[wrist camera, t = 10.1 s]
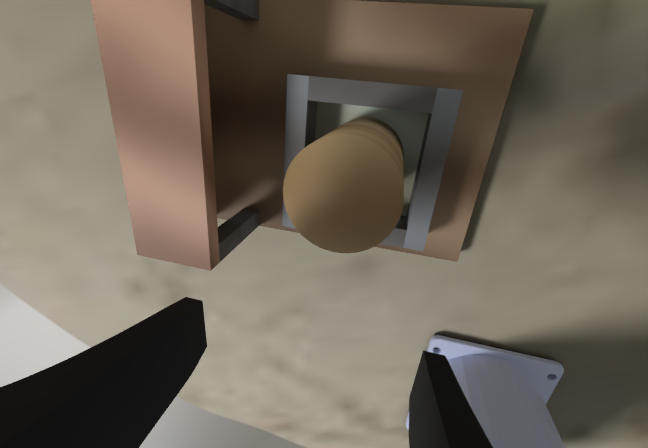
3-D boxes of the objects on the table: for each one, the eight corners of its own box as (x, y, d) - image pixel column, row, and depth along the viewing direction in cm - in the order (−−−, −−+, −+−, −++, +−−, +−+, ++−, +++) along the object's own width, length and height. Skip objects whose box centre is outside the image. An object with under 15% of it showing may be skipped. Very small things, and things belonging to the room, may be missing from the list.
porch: (454, 253, 19) (478, 328, 13) (209, 209, 21) (137, 254, 16) (525, 14, 14) (616, -42, 8) (195, -3, 16) (80, -54, 11)
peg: (395, 199, 17) (390, 263, 11) (324, 187, 18) (280, 240, 11) (411, 123, 15) (416, 146, 9) (331, 112, 16) (286, 127, 10)
